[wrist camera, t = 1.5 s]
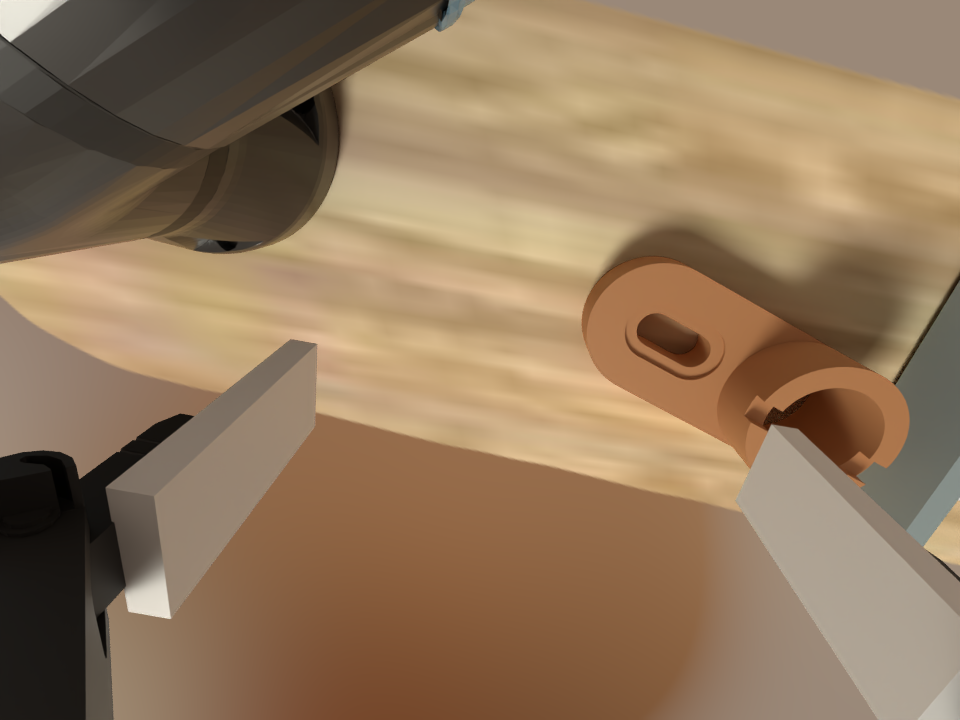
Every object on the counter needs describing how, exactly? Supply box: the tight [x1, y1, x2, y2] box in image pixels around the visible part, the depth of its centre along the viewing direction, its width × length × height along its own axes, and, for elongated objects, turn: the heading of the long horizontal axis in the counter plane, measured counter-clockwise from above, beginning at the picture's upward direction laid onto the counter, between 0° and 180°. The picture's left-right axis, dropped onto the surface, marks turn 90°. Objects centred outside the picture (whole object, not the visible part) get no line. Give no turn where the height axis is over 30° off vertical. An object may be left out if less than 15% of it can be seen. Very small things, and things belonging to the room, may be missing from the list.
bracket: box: [582, 256, 910, 487], centre depth 29 cm, size 18×8×7 cm, turn 62°
